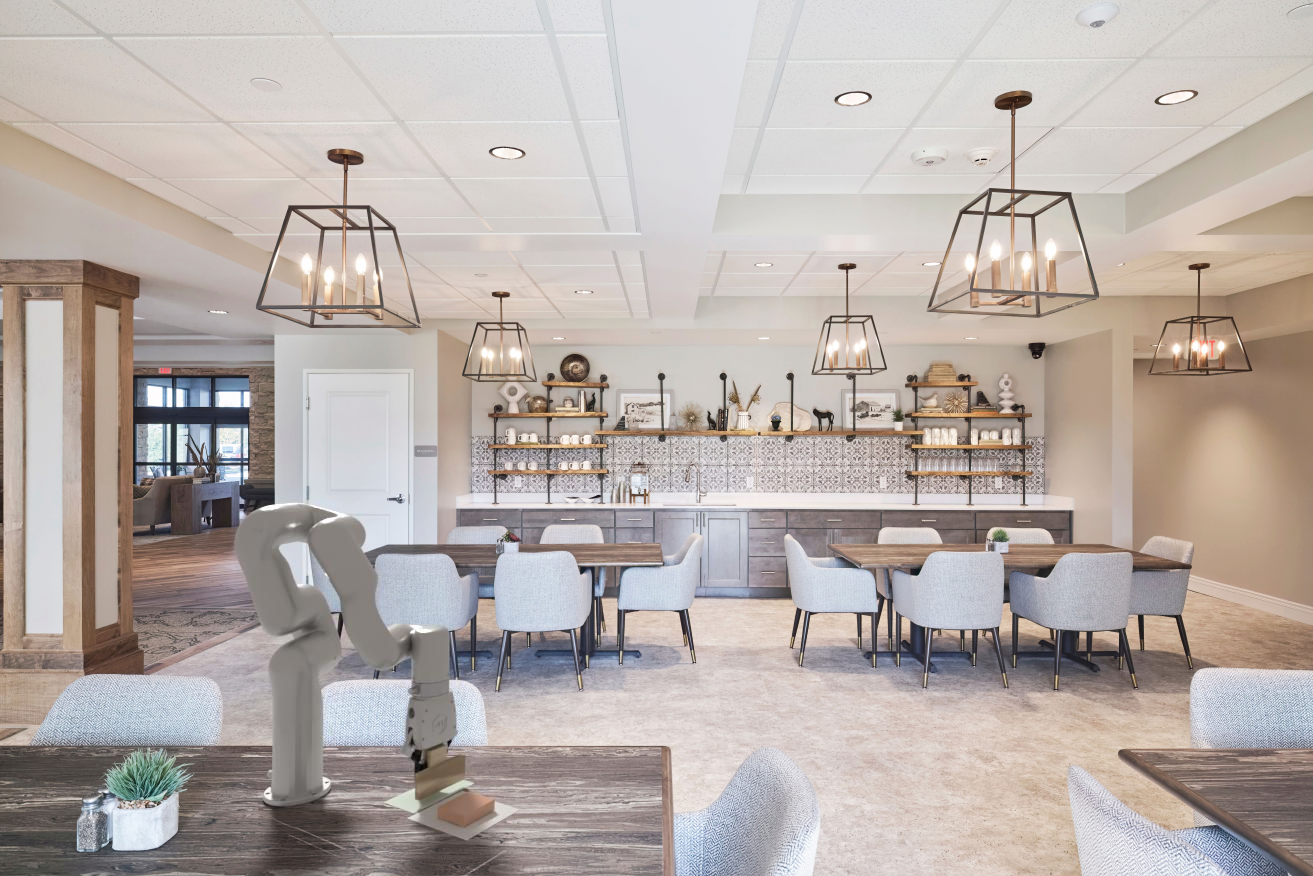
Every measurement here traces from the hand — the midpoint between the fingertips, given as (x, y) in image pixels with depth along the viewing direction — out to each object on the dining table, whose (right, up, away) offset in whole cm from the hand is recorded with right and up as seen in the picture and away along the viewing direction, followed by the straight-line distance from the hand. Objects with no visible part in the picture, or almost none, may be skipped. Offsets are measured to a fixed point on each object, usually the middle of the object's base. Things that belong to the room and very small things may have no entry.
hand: (430, 776), depth 154 cm
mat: (+9, -3, -10) cm, 14 cm away
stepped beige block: (0, -2, 0) cm, 2 cm away
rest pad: (0, -4, 0) cm, 4 cm away
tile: (+7, -2, -8) cm, 11 cm away
